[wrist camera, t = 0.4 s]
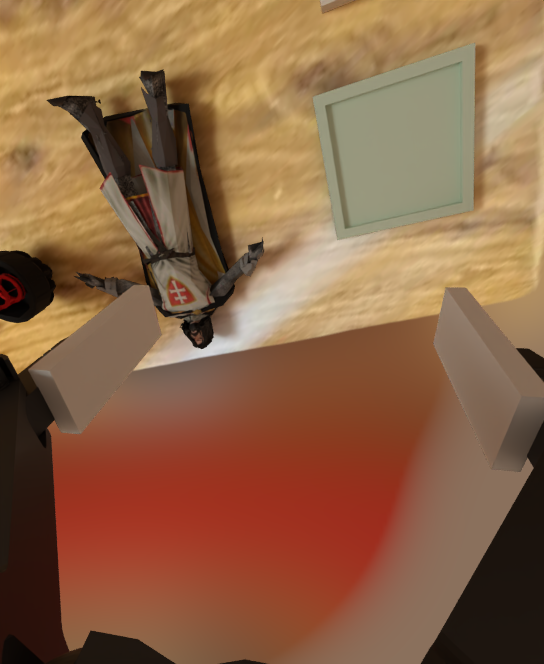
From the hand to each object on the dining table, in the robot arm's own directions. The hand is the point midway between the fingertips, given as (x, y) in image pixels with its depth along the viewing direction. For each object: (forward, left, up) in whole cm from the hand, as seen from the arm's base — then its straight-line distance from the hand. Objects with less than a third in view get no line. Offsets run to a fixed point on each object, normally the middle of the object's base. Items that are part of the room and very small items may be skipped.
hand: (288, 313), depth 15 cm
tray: (-3, +9, -27) cm, 29 cm away
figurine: (-1, -17, -28) cm, 33 cm away
